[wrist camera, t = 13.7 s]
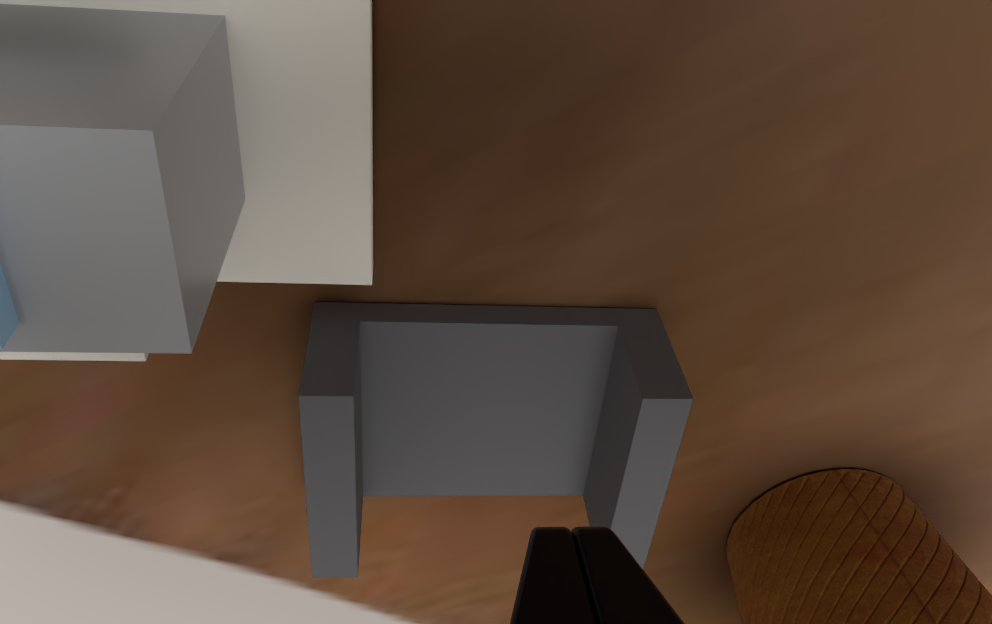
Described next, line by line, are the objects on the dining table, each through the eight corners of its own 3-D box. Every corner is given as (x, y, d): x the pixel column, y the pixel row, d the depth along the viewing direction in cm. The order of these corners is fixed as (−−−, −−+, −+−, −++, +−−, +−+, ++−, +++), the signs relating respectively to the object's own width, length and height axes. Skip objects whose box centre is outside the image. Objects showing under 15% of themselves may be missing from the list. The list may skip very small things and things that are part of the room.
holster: (656, 309, 22) (692, 398, 19) (616, 475, 26) (642, 572, 23) (313, 301, 21) (297, 396, 18) (323, 476, 25) (311, 577, 22)
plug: (224, 15, 16) (139, 152, 11) (245, 199, 18) (182, 380, 13) (-107, -3, 15) (-359, 134, 10) (-43, 190, 18) (-222, 378, 13)
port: (371, -104, 16) (361, -60, 13) (373, 267, 21) (366, 363, 18) (-200, -148, 15) (-363, -111, 12) (-56, 256, 19) (-143, 357, 16)
